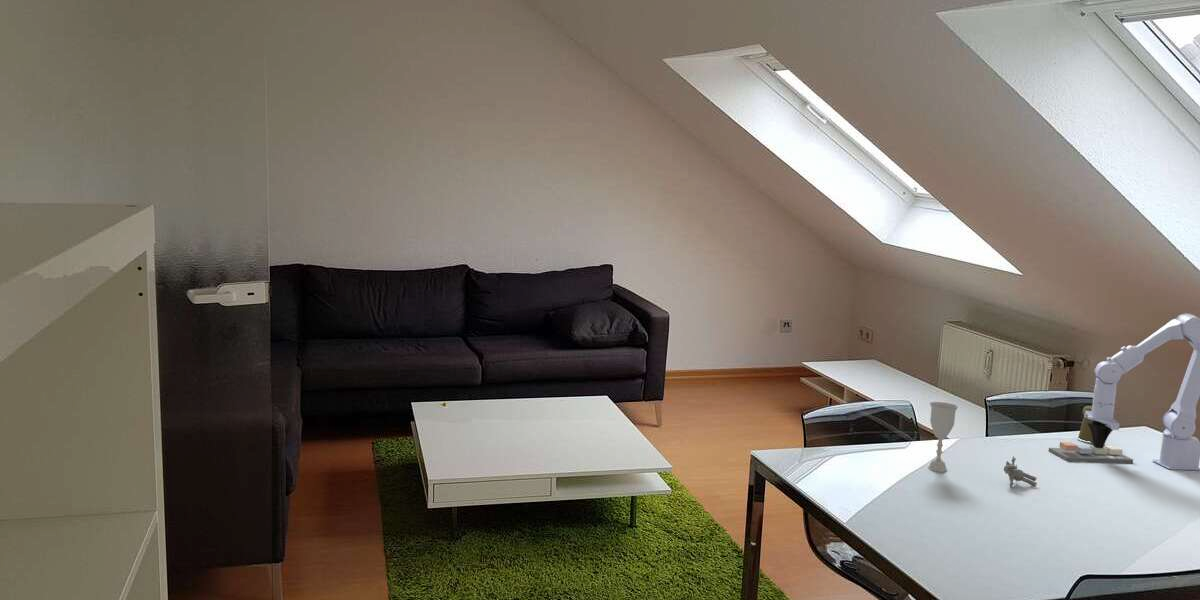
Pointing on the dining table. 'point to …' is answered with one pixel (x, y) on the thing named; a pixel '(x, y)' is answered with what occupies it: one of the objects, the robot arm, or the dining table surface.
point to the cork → (1086, 426)
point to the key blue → (1084, 449)
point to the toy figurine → (1018, 474)
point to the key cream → (1113, 450)
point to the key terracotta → (1068, 446)
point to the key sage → (1098, 450)
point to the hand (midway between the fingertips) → (1098, 447)
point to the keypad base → (1090, 456)
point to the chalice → (941, 429)
